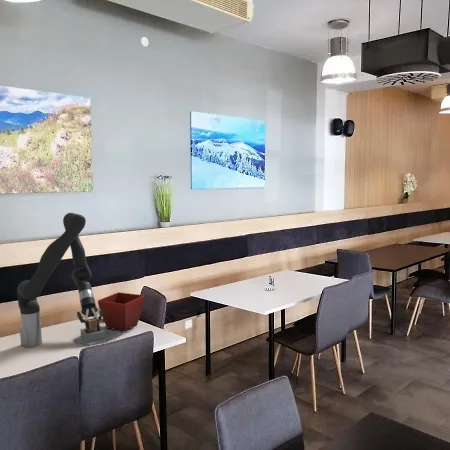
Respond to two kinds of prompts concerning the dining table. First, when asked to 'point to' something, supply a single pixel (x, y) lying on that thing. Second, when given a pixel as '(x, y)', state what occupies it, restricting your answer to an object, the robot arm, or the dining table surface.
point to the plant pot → (121, 310)
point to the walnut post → (92, 325)
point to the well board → (107, 335)
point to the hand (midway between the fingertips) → (93, 327)
